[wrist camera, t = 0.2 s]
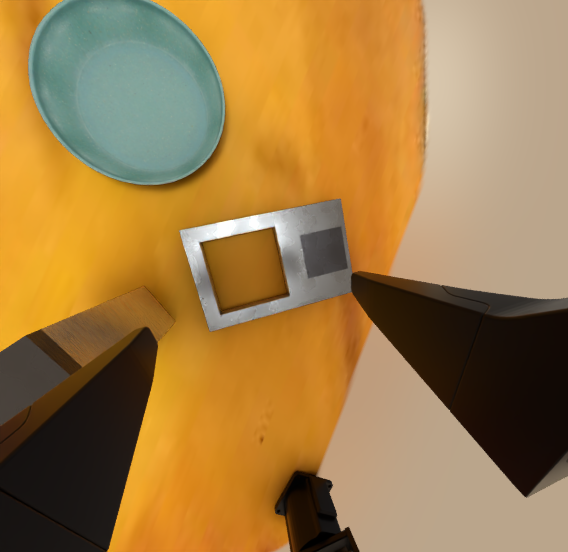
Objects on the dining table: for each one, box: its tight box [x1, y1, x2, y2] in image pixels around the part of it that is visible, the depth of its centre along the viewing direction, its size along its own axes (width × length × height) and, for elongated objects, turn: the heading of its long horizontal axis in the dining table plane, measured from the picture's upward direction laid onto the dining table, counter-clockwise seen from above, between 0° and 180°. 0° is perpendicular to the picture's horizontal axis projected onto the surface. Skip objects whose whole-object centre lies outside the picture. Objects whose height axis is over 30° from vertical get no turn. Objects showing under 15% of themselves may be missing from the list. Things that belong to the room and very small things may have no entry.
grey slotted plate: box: [179, 199, 352, 332], centre depth 24 cm, size 11×18×2 cm, turn 102°
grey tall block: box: [0, 286, 175, 426], centre depth 16 cm, size 5×5×12 cm
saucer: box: [28, 0, 225, 185], centre depth 19 cm, size 15×15×3 cm
